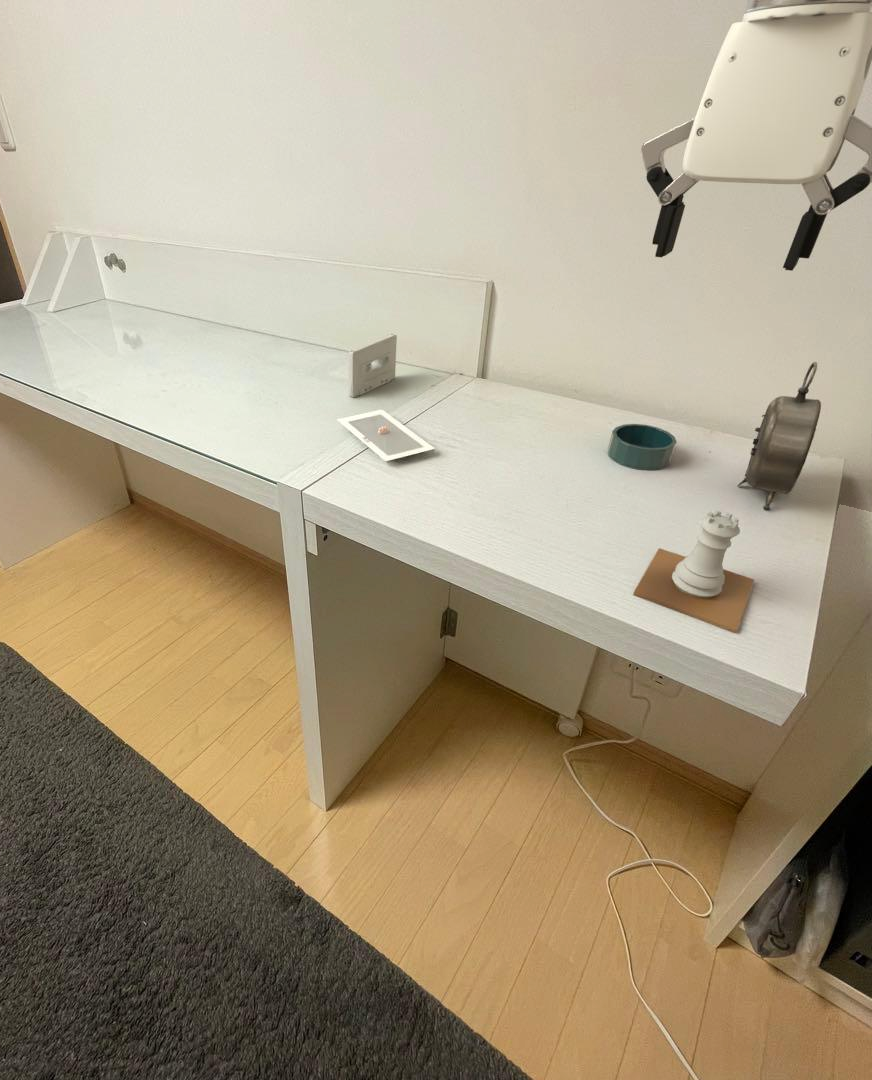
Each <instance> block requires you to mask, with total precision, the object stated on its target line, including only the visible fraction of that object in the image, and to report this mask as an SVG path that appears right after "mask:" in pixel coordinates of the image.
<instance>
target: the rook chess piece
mask: <svg viewBox="0 0 872 1080" xmlns="http://www.w3.org/2000/svg"><path fill="white" fill-rule="evenodd" d="M722 513H723V512H722V510H715V511H710V512H708V514H707V515H706V516H705V517H703V518H702V519H700V521H699V526H700V527H701V531H700V532H699V533H697V539H698V540H697V542H696V545H695V546H694V548H693V549H692V551H691V553H690V554H689V555H688V556H685V557H686V558H685V559H684V560H682V561H681V562H680V563H678V565H677V566H676V570H675V571H674V572H673V574H672V579H673V581H674V583H675V585H676V587H677V588H679V589H680V590H681V591H682V592H684V593H686V594H688V595H691V596H694V597H698V598H709V597H713V596H715V595H718V594H719V593H720V592H721V591H722V585H723V584H724V579H725V575H724V574H723V569H724V567H723V562H724V559H725V554H726V552H727V549H729V548H730V547H732V541H731V540H732V539H733V538H735V537H736V536H739V534H740V533H741V530H740V527H739V524H740V519H739V518H738V517H737V516H736V517H733V515H734V514H733V513H730V512H726V514H725V515H722ZM732 517H733V518H732Z"/></svg>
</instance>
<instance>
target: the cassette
mask: <svg viewBox="0 0 872 1080" xmlns="http://www.w3.org/2000/svg"><path fill="white" fill-rule="evenodd" d="M397 339H398V336H397V334H395V333H394V334H393V333H391V334H388V335H386V336H384V337H381V338H379V339H376V340H373V341H371V342H368V343H366V344H364V345H361V346H359V347H357V348H354V349H352V350H349V352H348V396H349V398H350V397H351V398H356V397H358V396H362V395H365V394H367V393H369V392H371V391H373V390H375V389H378V388H379V387H381V386H384V385H386V384H388V383H390V382H391V380H394V379H395V378H396V366H397V365H396V364H397V342H398V341H397ZM373 362H374V364H372V363H373Z"/></svg>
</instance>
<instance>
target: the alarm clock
mask: <svg viewBox="0 0 872 1080" xmlns="http://www.w3.org/2000/svg"><path fill="white" fill-rule="evenodd" d="M817 370H818V362H817V361H813V362H812V363H811V364H810V366H809V368H808V369H807V371H806V374H805V376H804V379H803V381H802V385H801V386H800V387H799V388H798V389H797V395H796V396H787V395H780V396H777V397H775V398H774V399H773V400H771V402H770V403H769V404H768V406H767V408H766V411H765V413H764V414H762V415H761V418H762V421H761V424H760V426H759V427H756V428H755V429H754V431H755V432H757V436H756V438H753V440H752V445H753V447H752V448H751V450H750V459H749V460H748V461H749V462H748V465H747V469H746V471H745V475H744V476H745V477H744V479H743V480H742V481H741V482H739V483H738V484H737V487H740V486H742V485H743V484H745V483H747V485H748V486H749V487H750V488H752V489H756V490H761V491H764V492H765V491H766V497H765V505H763V506H762V509H763V510H764V511H770V509H771V507H770V506H771V505H772V503H773V501H774V497H775V494H776V495H777V494H782V495H788V494H790V493H791V492H792V491H793V489H794V487H795V485H796V483H797V481H798V479H799V477H800V474H801V473H802V471H803V467H804V465H805V463H806V461H807V457H808V455H809V451H810V449H811V446H812V443H813V440H814V438H815V434H816V431H817V425H818V422H819V418H820V414H821V409H822V402H821V400H820V399H816V398H815V399H814V398H806V397H807V396H806V395H807V394H809V387H810V385H811V384H812V382H813V380H814V378H815V375H816V373H817ZM809 376H810V377H809ZM808 378H809V379H808Z"/></svg>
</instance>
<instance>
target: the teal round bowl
mask: <svg viewBox="0 0 872 1080" xmlns="http://www.w3.org/2000/svg"><path fill="white" fill-rule="evenodd" d="M676 446H677V439H676V437H675V435H673V434H672V433H671V432H669V431H668V430H665V429H663V428H660V427H657V426H653V425H649V424H642V423H627V424H626V423H625V424H621V425H618V426H615V428H614V429H613V430H612V431H611V435H610V438H609V442H608V445H607V451H606V452H607V455H608V457H609V458H610V459H611V460H612V461H613V462H615V463H617V464H619V465H621V466H624V467H626V468H630V469H634V470H641V471H655V470H656V471H657V470H662V469H664V468H666V467H667V466H668V465H670V462H671V461H672V457H673V454H674V452H675V449H676Z"/></svg>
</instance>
